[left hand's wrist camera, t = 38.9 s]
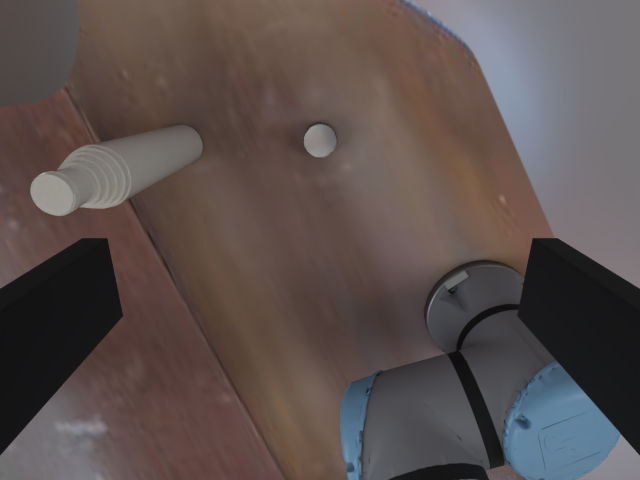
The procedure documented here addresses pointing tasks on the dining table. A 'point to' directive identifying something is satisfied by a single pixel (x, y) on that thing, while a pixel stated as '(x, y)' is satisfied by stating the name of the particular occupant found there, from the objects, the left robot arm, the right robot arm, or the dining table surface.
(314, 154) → the cap
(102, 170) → the bottle
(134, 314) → the dining table surface
